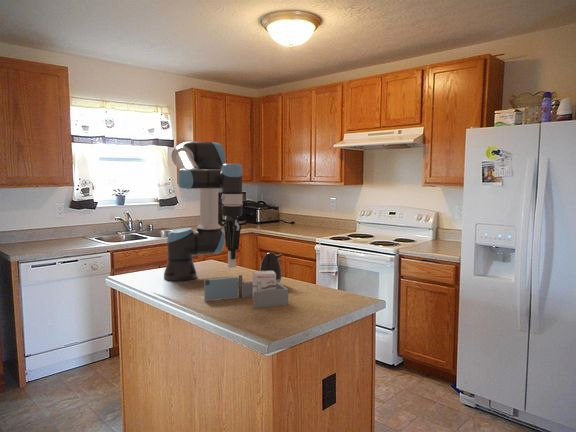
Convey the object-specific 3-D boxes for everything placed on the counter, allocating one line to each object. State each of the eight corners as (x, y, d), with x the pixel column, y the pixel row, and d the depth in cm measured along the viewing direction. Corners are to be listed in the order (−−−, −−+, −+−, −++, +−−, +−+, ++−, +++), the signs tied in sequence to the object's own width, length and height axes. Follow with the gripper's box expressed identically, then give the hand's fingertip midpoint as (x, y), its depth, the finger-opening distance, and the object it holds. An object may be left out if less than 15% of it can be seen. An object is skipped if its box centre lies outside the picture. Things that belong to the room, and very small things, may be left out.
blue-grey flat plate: (237, 296, 169) (237, 277, 168) (237, 297, 168) (237, 277, 167) (204, 299, 164) (204, 279, 163) (204, 300, 163) (204, 280, 162)
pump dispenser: (279, 288, 183) (279, 254, 182) (256, 287, 185) (256, 253, 184) (284, 283, 193) (284, 250, 192) (262, 281, 195) (262, 249, 194)
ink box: (253, 304, 160) (254, 274, 159) (252, 301, 164) (252, 271, 163) (276, 303, 162) (276, 273, 160) (273, 299, 166) (274, 270, 165)
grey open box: (238, 297, 169) (238, 275, 169) (273, 293, 175) (273, 272, 174) (249, 308, 154) (249, 284, 154) (288, 304, 160) (288, 281, 159)
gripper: (216, 204, 161) (217, 264, 164) (228, 206, 150) (228, 271, 152) (235, 203, 165) (235, 263, 167) (248, 206, 153) (247, 269, 156)
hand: (232, 267), depth 160 cm, fingers closed
